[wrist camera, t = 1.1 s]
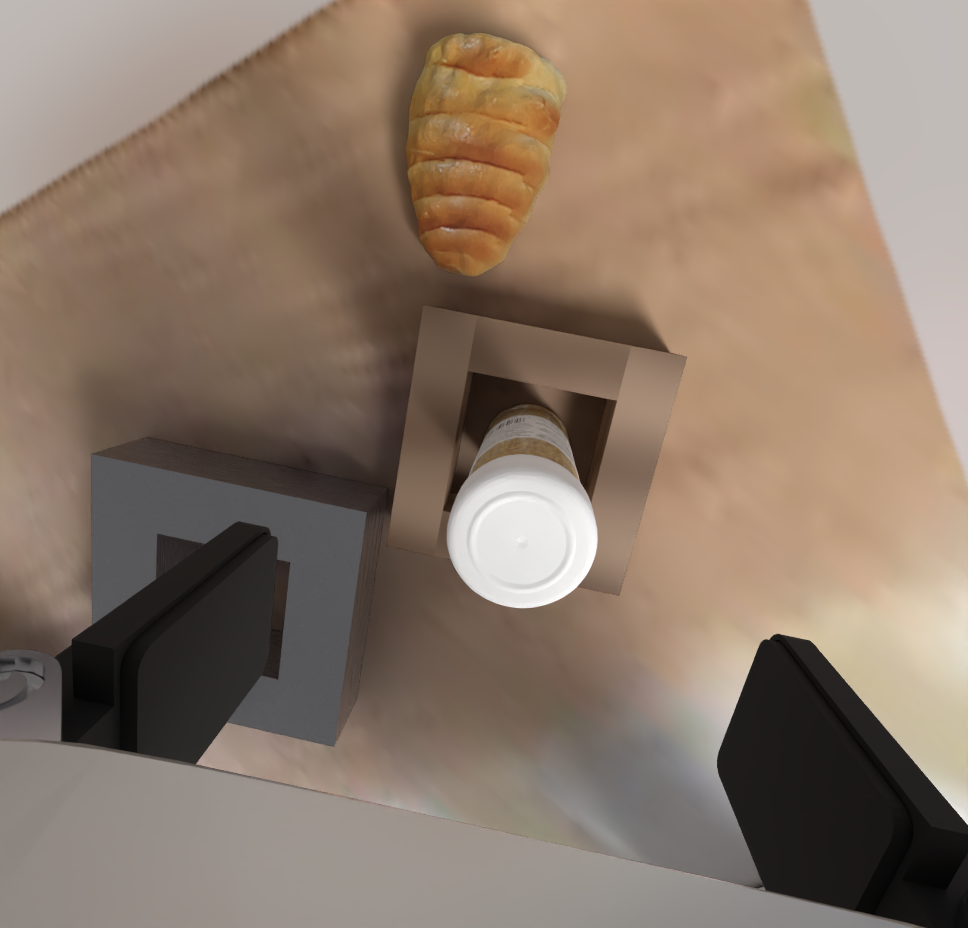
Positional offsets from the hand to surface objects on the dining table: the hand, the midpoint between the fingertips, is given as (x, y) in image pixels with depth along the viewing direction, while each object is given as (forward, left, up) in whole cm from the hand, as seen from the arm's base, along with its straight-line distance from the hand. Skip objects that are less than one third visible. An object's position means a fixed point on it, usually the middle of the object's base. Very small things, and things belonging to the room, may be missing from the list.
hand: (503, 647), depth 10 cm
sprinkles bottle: (0, 0, -20) cm, 20 cm away
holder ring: (0, 0, -19) cm, 19 cm away
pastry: (+13, +4, -20) cm, 24 cm away
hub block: (-11, +14, -19) cm, 26 cm away
